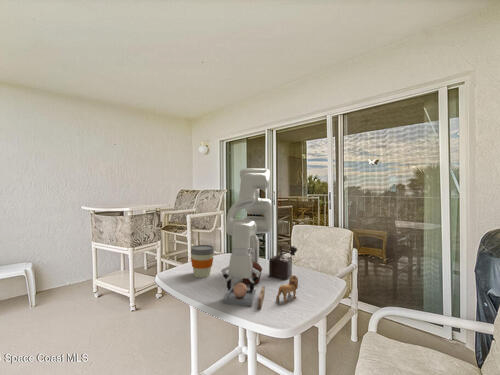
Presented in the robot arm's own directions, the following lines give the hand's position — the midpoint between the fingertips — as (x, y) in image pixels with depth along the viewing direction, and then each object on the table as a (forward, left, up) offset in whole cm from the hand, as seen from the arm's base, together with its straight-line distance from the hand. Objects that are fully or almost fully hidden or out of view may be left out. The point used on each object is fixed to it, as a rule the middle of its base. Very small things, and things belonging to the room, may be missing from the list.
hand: (240, 290), depth 105 cm
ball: (0, 0, -3) cm, 3 cm away
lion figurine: (-4, +20, -4) cm, 21 cm away
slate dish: (0, 0, -4) cm, 4 cm away
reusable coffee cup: (-24, -26, -4) cm, 36 cm away
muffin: (-20, +2, -4) cm, 20 cm away
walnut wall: (+1, +10, -4) cm, 10 cm away
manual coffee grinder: (-32, +19, -4) cm, 37 cm away
